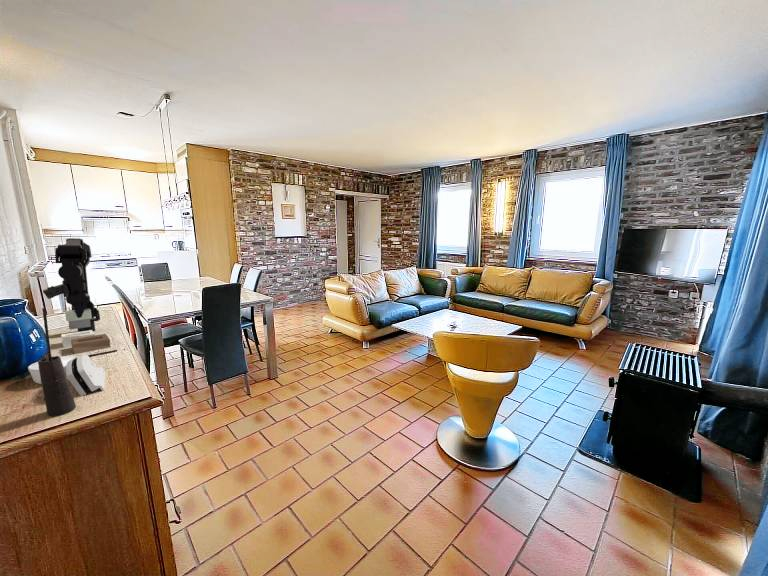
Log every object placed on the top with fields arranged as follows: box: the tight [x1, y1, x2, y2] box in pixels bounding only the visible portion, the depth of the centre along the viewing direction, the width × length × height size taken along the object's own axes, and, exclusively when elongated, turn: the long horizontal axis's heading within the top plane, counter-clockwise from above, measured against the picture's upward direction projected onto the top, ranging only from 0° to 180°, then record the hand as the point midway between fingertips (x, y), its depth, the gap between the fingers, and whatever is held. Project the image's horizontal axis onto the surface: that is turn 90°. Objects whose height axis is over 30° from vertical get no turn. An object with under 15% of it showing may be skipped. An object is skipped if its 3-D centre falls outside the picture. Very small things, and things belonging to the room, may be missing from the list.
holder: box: [60, 330, 96, 348], centre depth 124 cm, size 7×9×5 cm
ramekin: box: [27, 355, 78, 385], centre depth 97 cm, size 11×11×5 cm
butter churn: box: [37, 307, 77, 417], centre depth 78 cm, size 9×10×28 cm
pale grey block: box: [64, 309, 92, 330], centre depth 121 cm, size 4×7×7 cm, turn 139°
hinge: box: [66, 354, 107, 397], centre depth 93 cm, size 17×5×10 cm, turn 41°
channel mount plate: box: [71, 333, 118, 358], centre depth 119 cm, size 14×13×5 cm
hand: (78, 316), depth 120 cm, fingers closed on pale grey block, 4 cm apart
